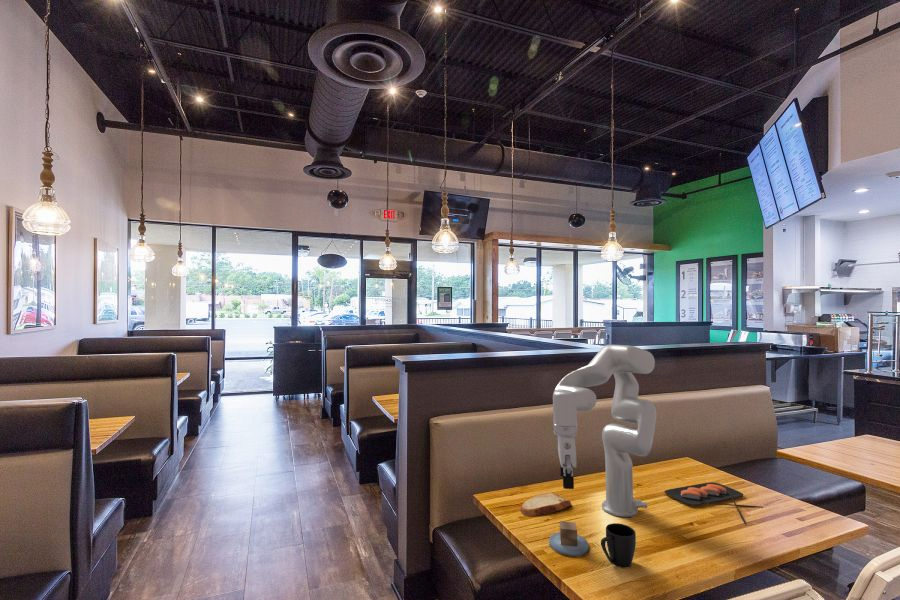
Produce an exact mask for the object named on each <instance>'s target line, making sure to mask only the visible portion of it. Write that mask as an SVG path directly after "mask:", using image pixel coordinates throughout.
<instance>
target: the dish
mask: <svg viewBox="0 0 900 600" xmlns="http://www.w3.org/2000/svg"><path fill="white" fill-rule="evenodd" d="M548 545H549V547H550V546H551V547H550V548H551V549H552V548H553V549H554V550H555V551H554V550H553V549H552V550H553V551H554V552H556V551H557V552H559V553H558V554H560V553H561V555H562V554H563V555H564V556H567V555H568V556H567V557H579V555H581V556H583V555H586V554H587V553H588V552H589V542H588V540H587V539H586V538H585V537H584V536H581V535H580V534H577V546H567V545H561V541H560V531H559V532H555V533H553V534H552V535H550V536H549V539H548ZM557 552H556V553H557ZM563 555H562V556H563Z"/></svg>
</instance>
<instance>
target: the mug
mask: <svg viewBox="0 0 900 600" xmlns="http://www.w3.org/2000/svg"><path fill="white" fill-rule="evenodd" d="M636 535H637V534H636V531H635V529H634V528H633V527H631V526H629V525H627V524H623V523H618V522H615V523H614V522H613V523H609V524H607V525H606V527H605V537H602V538H601V539H600V546H601V549H602V551H603V553H604V555H605V557H606V558H607V560H608V562H609V563H610V565H613V566H615V567H619V568H621V569H624V568H625V569H628V568H630V567H631V566H632V563H633V559H634V556H635V551H636V547H637V545H636V544H637V540H636V539H637V538H636Z"/></svg>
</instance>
